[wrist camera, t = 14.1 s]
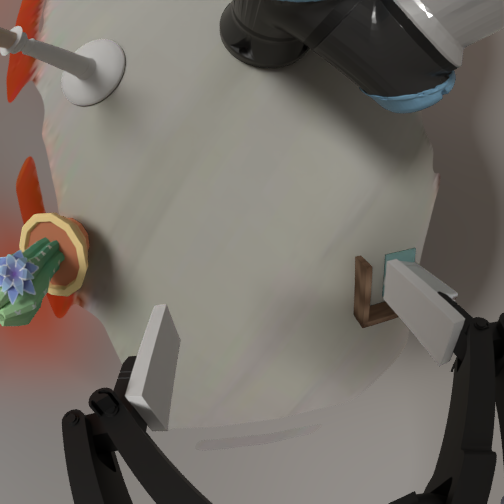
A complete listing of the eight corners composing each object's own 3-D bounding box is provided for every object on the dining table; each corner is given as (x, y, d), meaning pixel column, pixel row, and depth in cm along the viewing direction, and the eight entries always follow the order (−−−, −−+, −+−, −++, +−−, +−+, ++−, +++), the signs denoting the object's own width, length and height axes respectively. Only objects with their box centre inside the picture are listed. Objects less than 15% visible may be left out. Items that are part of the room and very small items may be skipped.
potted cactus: (116, 267, 47) (55, 359, 24) (59, 282, 47) (-4, 359, 24) (88, 189, 41) (-7, 239, 18) (32, 214, 41) (-54, 268, 18)
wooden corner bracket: (355, 256, 51) (366, 267, 46) (418, 242, 51) (432, 251, 47) (353, 314, 56) (362, 328, 52) (412, 297, 57) (423, 308, 52)
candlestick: (106, 113, 37) (-29, 101, 9) (53, 98, 33) (-74, 93, 6) (138, 46, 33) (44, -40, 5) (82, 36, 29) (-23, -18, 2)
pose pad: (385, 254, 51) (385, 255, 51) (415, 247, 52) (415, 248, 51) (382, 295, 55) (382, 296, 55) (410, 287, 56) (411, 288, 55)
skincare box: (381, 283, 54) (419, 323, 40) (390, 257, 51) (432, 293, 38) (409, 285, 55) (447, 321, 41) (418, 261, 53) (460, 294, 39)
